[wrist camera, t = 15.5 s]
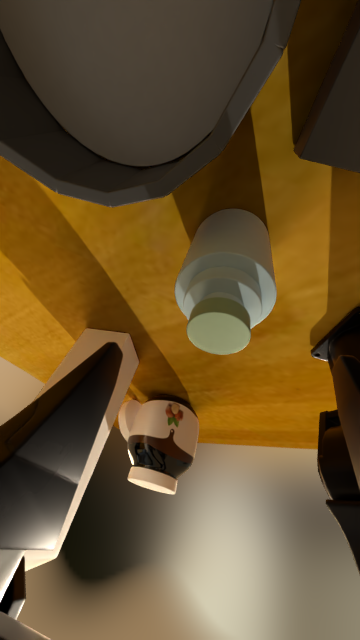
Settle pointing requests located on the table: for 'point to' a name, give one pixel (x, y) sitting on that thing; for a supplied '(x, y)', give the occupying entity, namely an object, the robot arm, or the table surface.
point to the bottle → (226, 281)
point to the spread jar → (159, 440)
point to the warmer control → (337, 108)
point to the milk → (77, 354)
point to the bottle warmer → (130, 88)
